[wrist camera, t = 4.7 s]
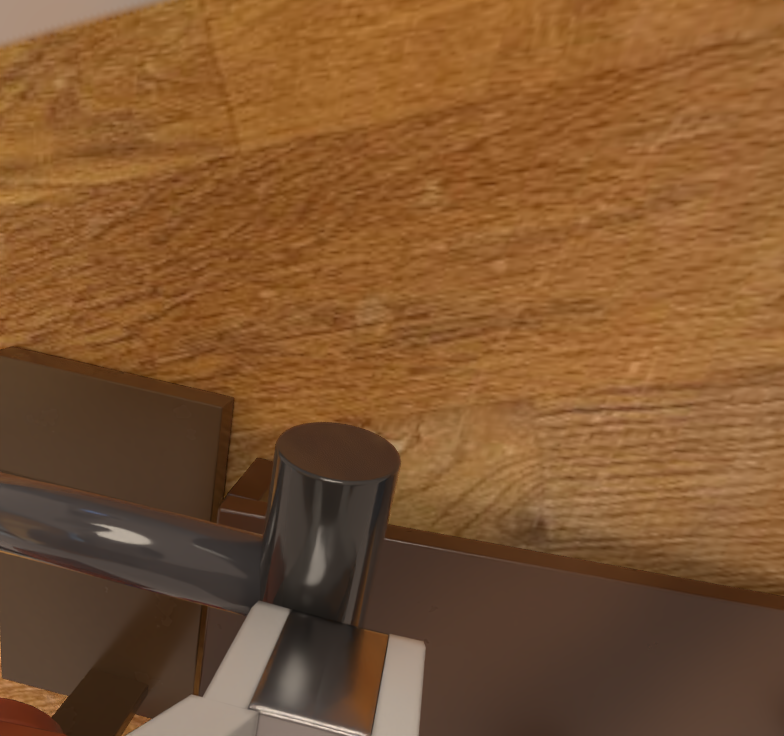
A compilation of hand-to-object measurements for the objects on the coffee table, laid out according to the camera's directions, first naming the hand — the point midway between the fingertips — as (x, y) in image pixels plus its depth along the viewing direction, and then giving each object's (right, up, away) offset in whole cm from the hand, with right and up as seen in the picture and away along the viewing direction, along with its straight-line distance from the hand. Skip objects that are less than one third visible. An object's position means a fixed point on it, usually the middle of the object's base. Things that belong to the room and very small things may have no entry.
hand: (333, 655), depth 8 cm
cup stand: (-9, -3, +12) cm, 15 cm away
